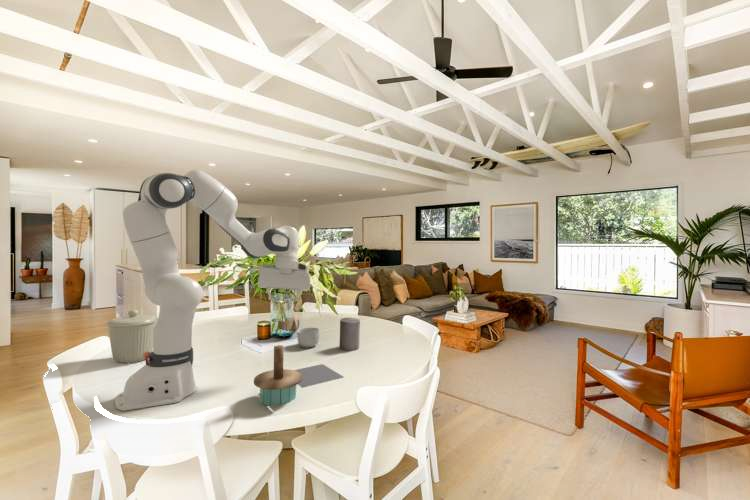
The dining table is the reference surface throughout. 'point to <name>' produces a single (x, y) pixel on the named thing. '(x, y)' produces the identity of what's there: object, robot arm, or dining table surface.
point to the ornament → (290, 323)
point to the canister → (131, 336)
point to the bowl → (277, 396)
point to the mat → (317, 375)
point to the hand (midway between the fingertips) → (283, 300)
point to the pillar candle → (349, 333)
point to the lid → (278, 374)
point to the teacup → (308, 336)
